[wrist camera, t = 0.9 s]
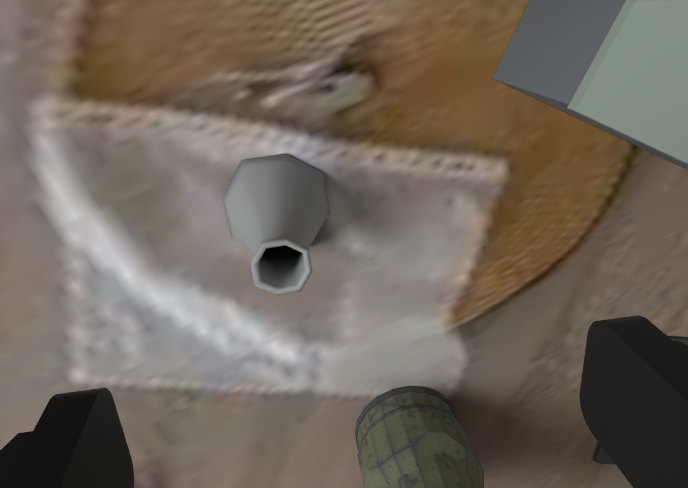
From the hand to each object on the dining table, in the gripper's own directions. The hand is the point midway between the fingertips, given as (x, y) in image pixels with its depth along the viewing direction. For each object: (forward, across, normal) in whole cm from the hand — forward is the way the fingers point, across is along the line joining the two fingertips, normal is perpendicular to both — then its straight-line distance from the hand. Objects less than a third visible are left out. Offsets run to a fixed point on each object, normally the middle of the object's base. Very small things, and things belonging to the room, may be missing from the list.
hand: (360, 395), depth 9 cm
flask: (+29, +2, +7) cm, 30 cm away
